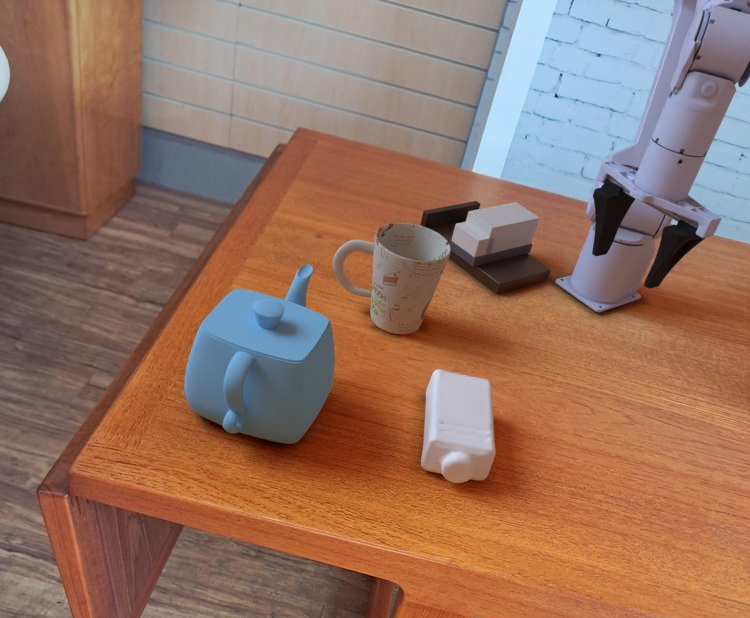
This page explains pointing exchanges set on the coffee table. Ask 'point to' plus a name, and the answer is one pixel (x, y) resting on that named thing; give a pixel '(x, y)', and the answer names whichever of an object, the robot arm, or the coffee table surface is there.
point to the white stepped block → (494, 234)
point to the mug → (398, 273)
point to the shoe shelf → (490, 274)
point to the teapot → (262, 363)
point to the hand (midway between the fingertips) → (624, 269)
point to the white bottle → (458, 427)
